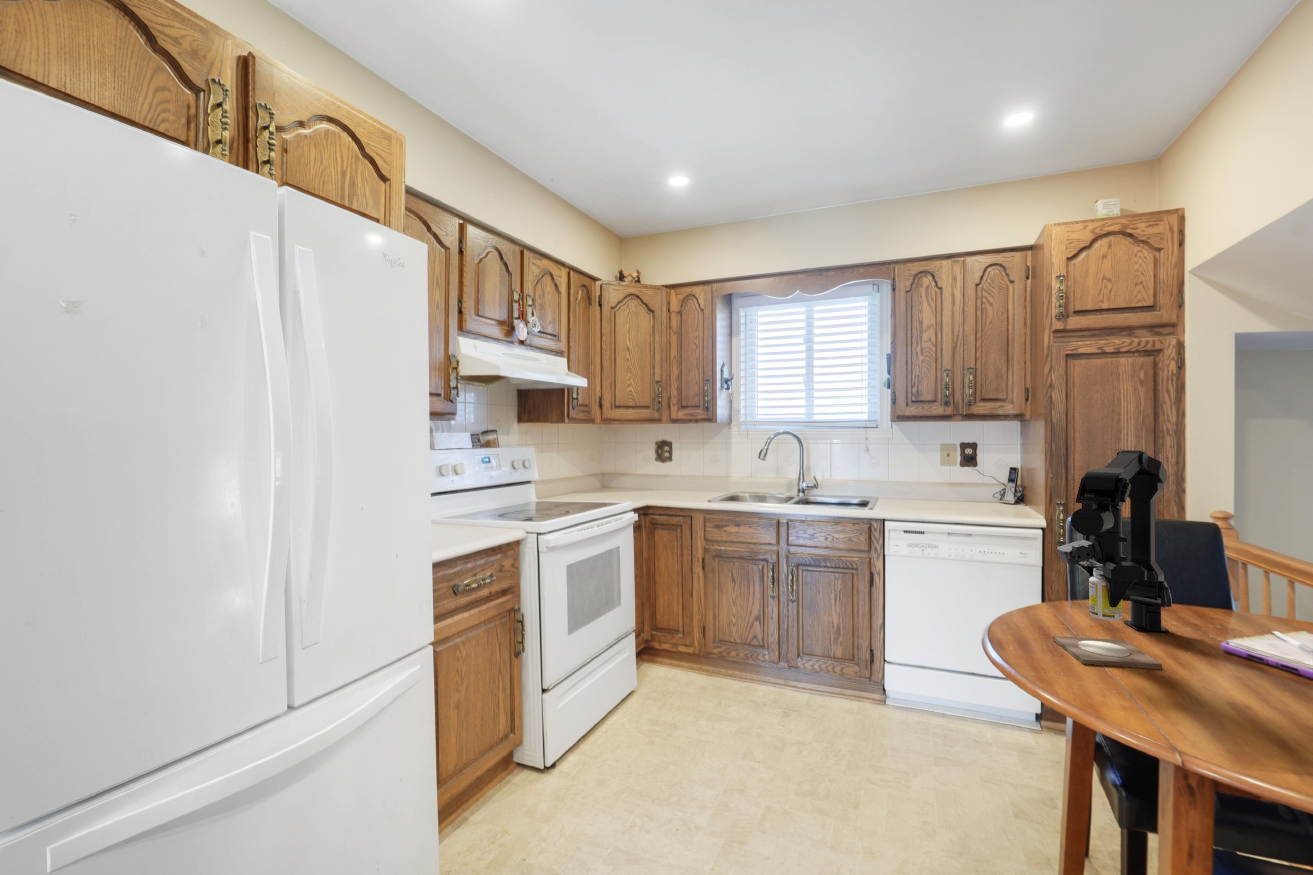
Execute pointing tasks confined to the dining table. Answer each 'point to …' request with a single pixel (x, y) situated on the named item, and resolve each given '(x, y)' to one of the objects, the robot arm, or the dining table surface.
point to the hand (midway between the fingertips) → (1105, 602)
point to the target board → (1106, 652)
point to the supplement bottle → (1101, 599)
